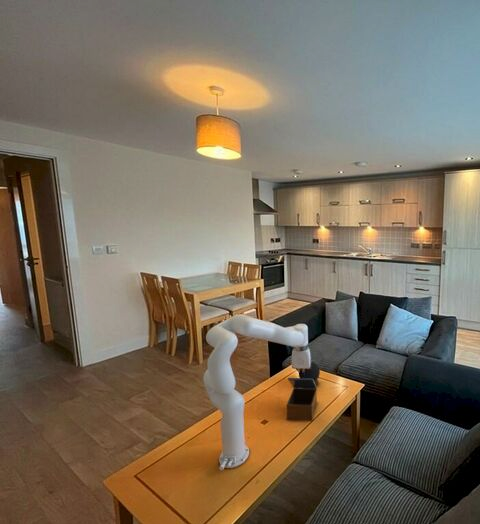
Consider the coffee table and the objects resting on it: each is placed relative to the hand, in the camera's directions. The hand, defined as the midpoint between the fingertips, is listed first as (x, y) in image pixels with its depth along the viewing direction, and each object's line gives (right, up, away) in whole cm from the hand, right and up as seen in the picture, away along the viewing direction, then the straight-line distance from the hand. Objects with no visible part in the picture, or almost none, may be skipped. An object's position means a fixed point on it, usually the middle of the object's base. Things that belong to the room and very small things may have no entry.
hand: (301, 378), depth 158 cm
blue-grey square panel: (0, -4, +3) cm, 5 cm away
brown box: (0, -20, +3) cm, 20 cm away
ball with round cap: (0, -16, +29) cm, 33 cm away
